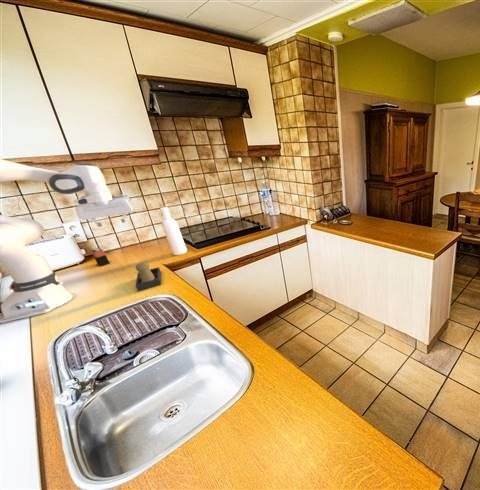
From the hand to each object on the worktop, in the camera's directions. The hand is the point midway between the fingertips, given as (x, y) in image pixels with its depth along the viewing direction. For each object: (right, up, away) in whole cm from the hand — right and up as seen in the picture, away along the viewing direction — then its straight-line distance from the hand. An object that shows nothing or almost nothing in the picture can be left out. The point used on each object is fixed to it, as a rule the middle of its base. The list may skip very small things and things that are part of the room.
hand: (112, 224), depth 134 cm
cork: (+19, -30, 0) cm, 36 cm away
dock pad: (+17, -29, +3) cm, 34 cm away
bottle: (+9, -16, +37) cm, 41 cm away
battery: (-32, -22, +27) cm, 47 cm away
